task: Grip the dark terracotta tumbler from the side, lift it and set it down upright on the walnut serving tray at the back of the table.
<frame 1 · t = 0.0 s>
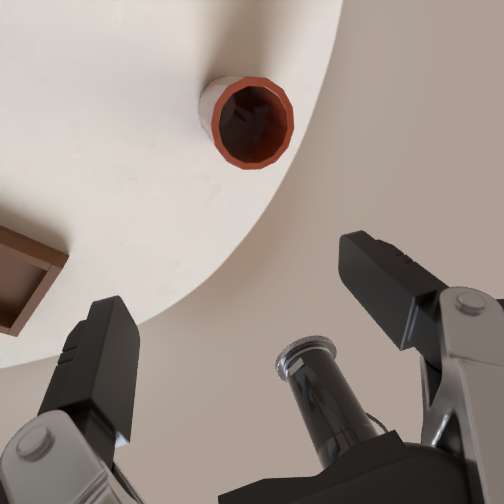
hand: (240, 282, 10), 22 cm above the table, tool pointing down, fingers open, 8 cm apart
tumbler: (228, 112, 27), on the table
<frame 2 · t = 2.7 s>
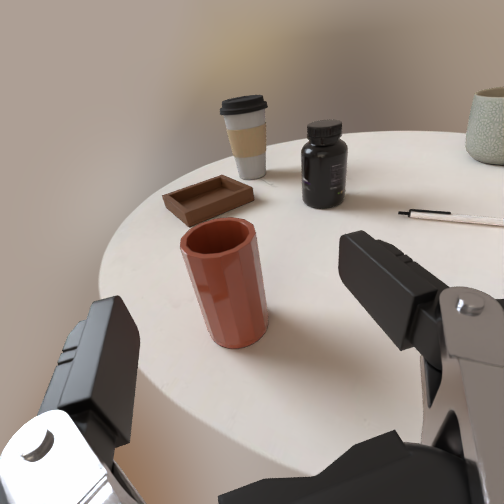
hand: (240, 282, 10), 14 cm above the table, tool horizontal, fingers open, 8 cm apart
pen: (482, 224, 35), on the table
supplement bottle: (323, 201, 47), on the table
planter: (498, 159, 51), on the table
coffee cup: (252, 175, 62), on the table
tumbler: (238, 323, 27), on the table
tray: (209, 204, 52), on the table
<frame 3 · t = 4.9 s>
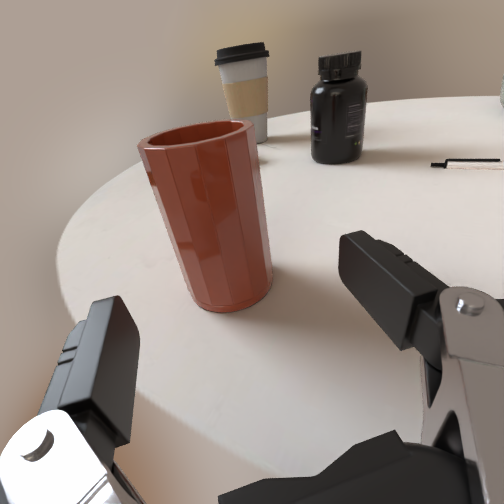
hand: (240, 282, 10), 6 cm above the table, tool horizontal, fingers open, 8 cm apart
supplement bottle: (336, 158, 39), on the table
coffee cup: (252, 142, 55), on the table
tumbler: (231, 282, 20), on the table
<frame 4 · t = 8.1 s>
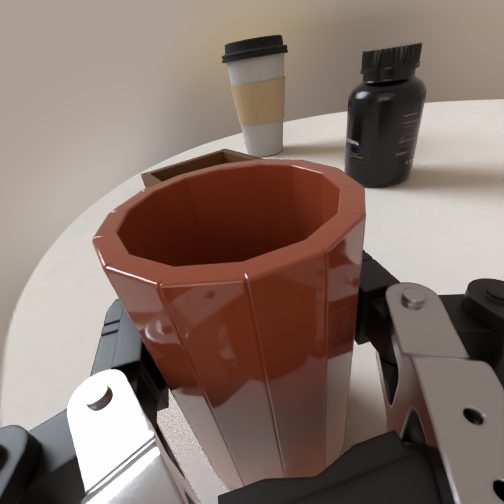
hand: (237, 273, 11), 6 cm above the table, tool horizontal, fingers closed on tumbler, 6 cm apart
supplement bottle: (375, 178, 32), on the table
coffee cup: (265, 152, 47), on the table
tumbler: (272, 416, 12), on the table, touching gripper
tray: (207, 186, 37), on the table
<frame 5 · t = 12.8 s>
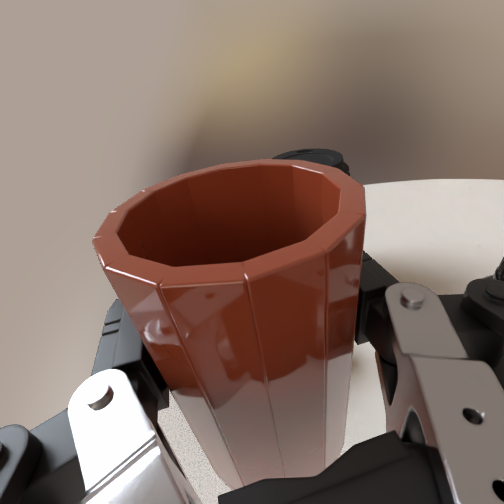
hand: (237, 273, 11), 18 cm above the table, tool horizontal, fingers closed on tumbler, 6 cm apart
coffee cup: (308, 269, 39), on the table
tumbler: (272, 416, 12), point 12 cm above the table, touching gripper
when the fingers open (7 cm above the table, at t = 18.0 s): tumbler stays where it is, resting on tray.
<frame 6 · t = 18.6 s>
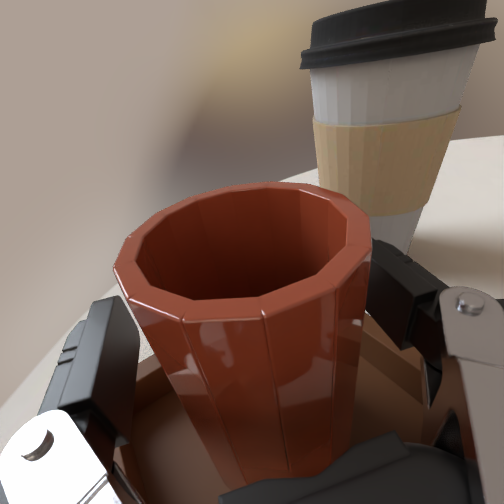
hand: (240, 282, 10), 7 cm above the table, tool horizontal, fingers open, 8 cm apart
coffee cup: (365, 252, 23), on the table
tumbler: (277, 425, 12), resting on tray
tray: (276, 430, 13), on the table
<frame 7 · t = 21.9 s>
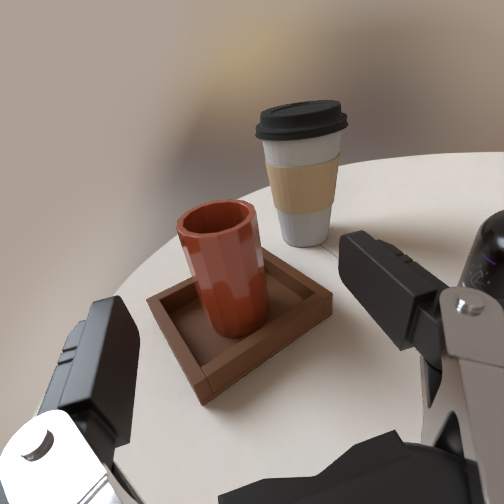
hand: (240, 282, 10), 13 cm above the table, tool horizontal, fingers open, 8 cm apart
supplement bottle: (499, 335, 21), on the table
coffee cup: (304, 236, 36), on the table
tumbler: (238, 312, 26), resting on tray
tray: (238, 315, 26), on the table
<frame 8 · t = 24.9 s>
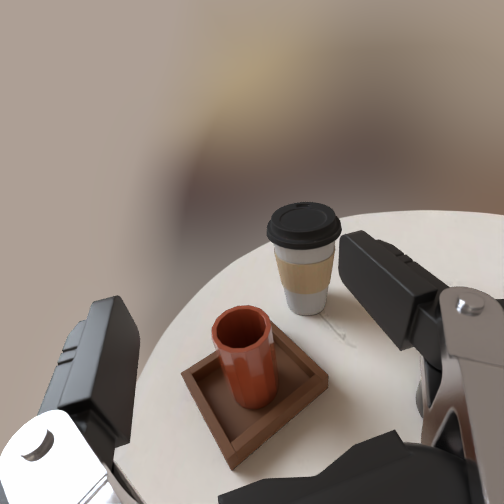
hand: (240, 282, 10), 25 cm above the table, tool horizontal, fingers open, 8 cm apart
coffee cup: (306, 303, 43), on the table
tumbler: (254, 384, 33), resting on tray
tray: (254, 386, 33), on the table
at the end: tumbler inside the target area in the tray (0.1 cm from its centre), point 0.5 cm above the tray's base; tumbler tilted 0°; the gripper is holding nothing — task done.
